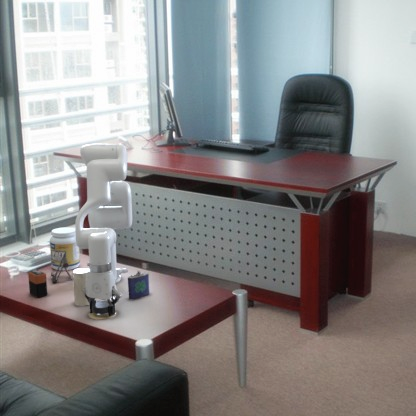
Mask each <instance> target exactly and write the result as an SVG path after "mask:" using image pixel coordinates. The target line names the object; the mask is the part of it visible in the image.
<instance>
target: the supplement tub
mask: <svg viewBox="0 0 416 416" xmlns="http://www.w3.org/2000/svg"><path fill="white" fill-rule="evenodd" d="M49 249H50V265H51V268H52V269H54V270H55V271H57V269H58V266H59V264H60V262H61V259H62V258H63V257H66V258H67V262H68V265H69V266H68V267H67V268H66V269H67V270H68V271H71V270H76V269H78V267H80V265H81V255H80V254H81V253H80V252H81V251H80V248H79V247H78V246H77V244H76V238H75V227H70V226H69V227H68V226H66V227H65V226H63V227H58V228H53V229H52V230H51V236H50V237H49ZM61 267H62V263H61V265H60V268H59V270H58V271H60V269H61ZM62 271H66V270H65V268H62Z"/></svg>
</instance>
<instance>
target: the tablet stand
mask: <svg viewBox="0 0 416 416" xmlns="http://www.w3.org/2000/svg"><path fill="white" fill-rule="evenodd" d="M61 263H62V267H61V269H60V270H59V268H60V265H61ZM68 266H69V265H68V262H67V258H66V257H63V258H62V259H61V262H60V264H59V266H58V269H57V270H55V273H54V274H53V272H50V279H51V282H52V284H57V283H58V282H59V278H60V276H61V273H62V272H63V270H62V268H65V270H64V271H65V272H66V274H67V275H68V277H69V279H70V280H71V281H73V278H72V276H71V274H70V272H69V270H67V269H66V268H67V267H68Z"/></svg>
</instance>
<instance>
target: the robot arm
mask: <svg viewBox="0 0 416 416" xmlns="http://www.w3.org/2000/svg"><path fill="white" fill-rule="evenodd" d="M79 154H80V158H81V159H82V162H83V163H84V165H85V166H86V190H87V191H86V197H87V198H86V202H85V203H84V204H83V205H82V207H81V208H80V209H79V211H78V212H77V215H76V217H75V223H74V224H75V225H74V228H75V238H76V244H77V246H78V247H79V249H81V250H88V262H87V263H86V266H87V267H89V270H88V273H87V279H86V288H84V289H83V290H82V292H83V294H84V295H85V297H86V298H87V300H88V302H89V305H88V306H89V313H93V312H92V304H93V303H95V302H97V300H101V301H108V303H109V306H108V315H109V316H112V315H114V314H115V310H116V304H117V303H118V302H119V301H120V300H121V298H122V294H121V293H120V292H119V290H117V286H116V283H119V282H120V281H121V280H122V276H121V275H122V274H127V273H128V272H129V270H128V268H122V267H119V268H118V266H117V265H118V263H117V243H116V242H117V232H116V231H115V230H127V229H130V228H131V227H132V225H133V201H132V200H133V195H132V188H131V185H130V184H129V182H127V181H125V180H126V178H127V175H128V151H127V148H126V146H125V145H124V144H121V143H89V144H84V145H82V146H81V147H80V150H79ZM112 205H113V206H112ZM114 205H116V206H114ZM86 217H87V218H88V224H89V228H87V227H86V228H85V227H84V221H85V219H86ZM96 299H97V300H96Z"/></svg>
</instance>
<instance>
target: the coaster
mask: <svg viewBox="0 0 416 416" xmlns="http://www.w3.org/2000/svg"><path fill="white" fill-rule="evenodd" d="M117 314H118V312H117V310H116V309H115V314H114V315H112V316H109V315H108V313H105V314H96V313H90V312H88V314H87V315H88V317H89V318H90V319H92V320H96V321H97V320H109V319H112V318H114V317H115V316H117Z"/></svg>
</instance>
